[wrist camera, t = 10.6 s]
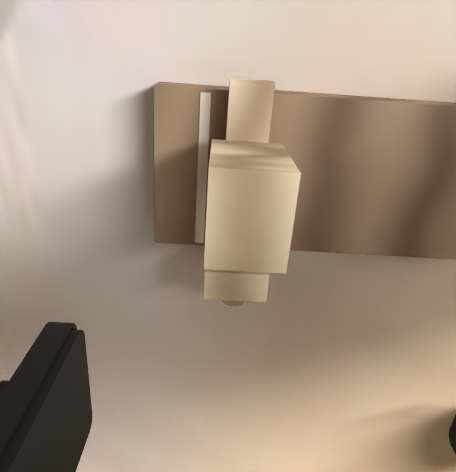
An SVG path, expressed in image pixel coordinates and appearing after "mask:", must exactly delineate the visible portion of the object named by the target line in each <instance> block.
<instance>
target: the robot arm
mask: <svg viewBox="0 0 456 472" xmlns="http://www.w3.org/2000/svg"><path fill="white" fill-rule="evenodd" d="M91 423H92V408H91V397H90V387H89V376H88V366H87V355H86V345H85V335H84V331H83V330H77V327H76V325H75V324H74V323H61V322H48V323H47V324H46V325H45V327H44V328H43V330H42V331H41V333H40V334H39V336H38V337H37V339H36V340H35V342H34V344H33V345H32V347H31V348H30V350H29V351H28V353H27V354H26V356H25V357H24V359H23V361H22V362H21V364H20V365H19V367H18V368H17V370H16V371H15V373H14V374H13V376H12V378H11V379H10V381H1V382H0V472H76V469H77V466H78V463H79V460H80V458H81V455H82V452H83V449H84V446H85V443H86V441H87V438H88V435H89V432H90V428H91ZM449 440H450V443H451V446H452V448H453V450H454V451H455V453H456V415H455V418H454V420H453V422H452V425H451V427H450V430H449Z"/></svg>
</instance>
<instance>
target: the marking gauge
mask: <svg viewBox="0 0 456 472" xmlns="http://www.w3.org/2000/svg"><path fill="white" fill-rule="evenodd" d="M274 88H275V83H274V82H273V81H266V80H252V79H238V78H230V81H229V97H228V112H227V127H226V140H215V139H212V143H211V152H210V160H209V171H208V191H207V211H206V231H205V250H204V269H205V277H204V296H203V299H209V300H223V302H224V303H225V304H227V305H230V306H238V305H241V304H242V303H243V301H248V302H266V300H267V292H268V285H269V277H270V274H269V273H283V274H286V272H287V265H288V259H289V252H290V245H291V238H292V231H293V224H294V218H295V211H296V204H297V197H298V190H299V184H300V177H301V172H300V171H299V169H298V168H297V166H296V165H295V163H294V161H293V160H292V158H291V157H290V155H289V153H288V152H287V150H286V149H285V147H284V146H283V144H275V143H269V134H270V125H271V116H272V107H273V97H274Z"/></svg>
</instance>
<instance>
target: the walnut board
mask: <svg viewBox="0 0 456 472" xmlns="http://www.w3.org/2000/svg"><path fill="white" fill-rule="evenodd" d="M228 97H229V87H224V86H210V85H196V84H182V83H168V82H159V83H157V84H155V85H154V210H155V242H159V243H177V244H195V245H205V231H206V211H207V191H208V171H209V160H210V152H211V143H212V139H215V140H226V127H227V112H228ZM269 143H275V144H283V146H284V147H285V149H286V150H287V152H288V153H289V155H290V157H291V158H292V160H293V161H294V163H295V165H296V166H297V168H298V169H299V171H300V172H301V177H300V184H299V190H298V197H297V204H296V211H295V218H294V224H293V231H292V238H291V245H290V250H301V251H318V252H336V253H354V254H371V255H389V256H406V257H424V258H442V259H456V103H446V102H432V101H418V100H404V99H390V98H376V97H362V96H349V95H335V94H321V93H307V92H293V91H279V90H274V97H273V107H272V116H271V125H270V134H269Z"/></svg>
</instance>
